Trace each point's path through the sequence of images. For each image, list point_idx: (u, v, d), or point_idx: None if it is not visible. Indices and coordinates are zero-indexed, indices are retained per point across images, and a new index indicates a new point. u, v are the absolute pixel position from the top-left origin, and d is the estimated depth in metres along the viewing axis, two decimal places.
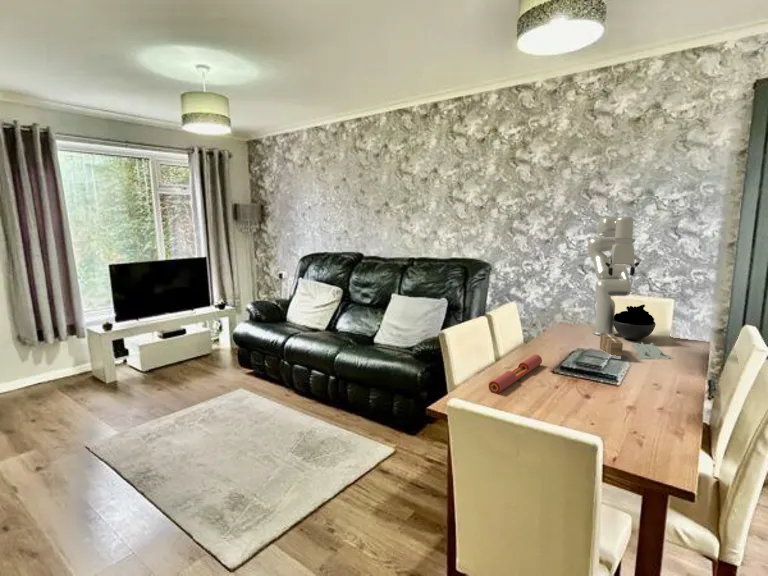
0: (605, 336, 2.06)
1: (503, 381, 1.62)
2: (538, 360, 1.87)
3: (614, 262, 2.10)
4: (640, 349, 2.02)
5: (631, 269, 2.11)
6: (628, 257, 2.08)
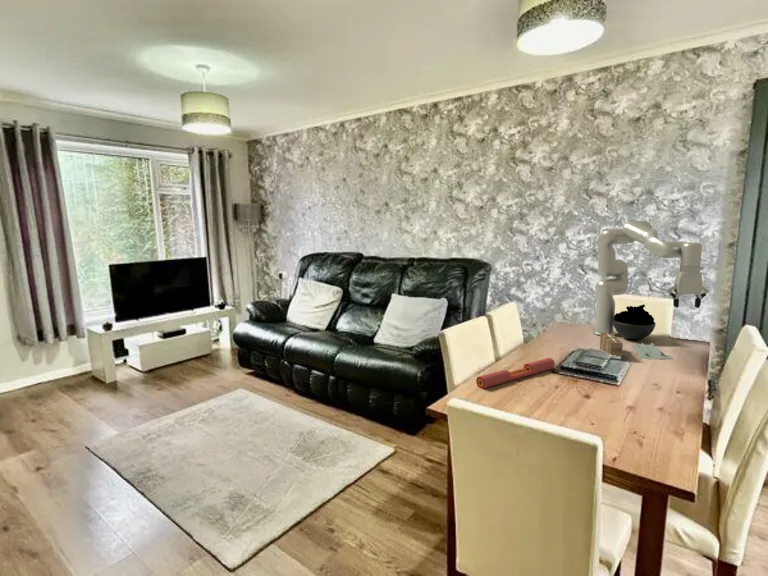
0: (605, 336, 2.06)
1: (491, 378, 1.66)
2: (548, 364, 1.83)
3: (679, 292, 1.92)
4: (640, 349, 2.01)
5: (696, 300, 1.93)
6: (695, 287, 1.90)
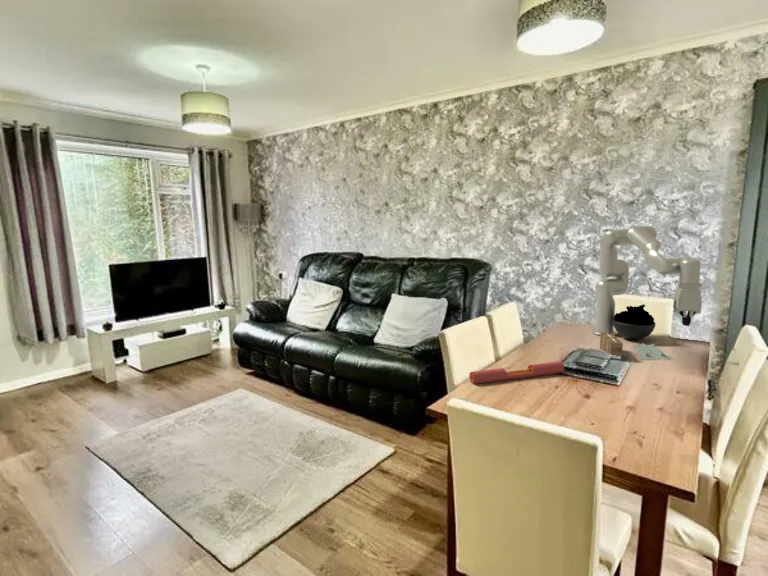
0: (605, 336, 2.06)
1: (483, 374, 1.70)
2: (555, 367, 1.78)
3: (679, 308, 1.93)
4: (641, 350, 2.00)
5: None
6: (695, 303, 1.91)
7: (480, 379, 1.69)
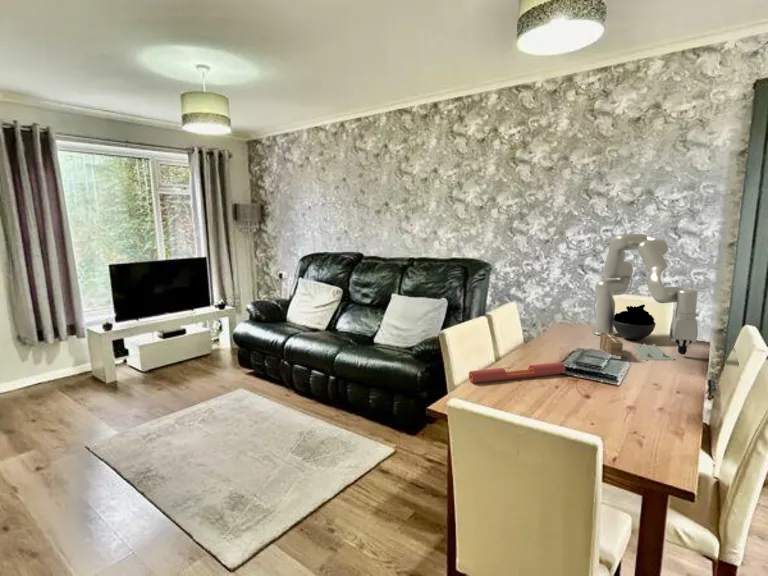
0: (605, 336, 2.06)
1: (482, 374, 1.71)
2: (556, 368, 1.77)
3: (675, 337, 1.95)
4: (642, 350, 1.99)
5: None
6: (691, 333, 1.93)
7: (479, 378, 1.70)
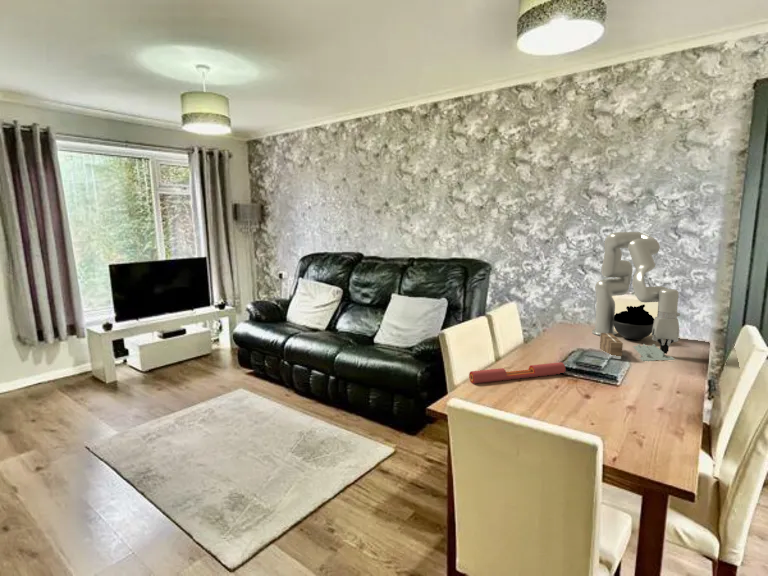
0: (605, 336, 2.06)
1: (482, 374, 1.70)
2: (557, 368, 1.77)
3: (657, 337, 1.97)
4: (642, 351, 1.99)
5: None
6: (672, 332, 1.95)
7: (479, 379, 1.70)
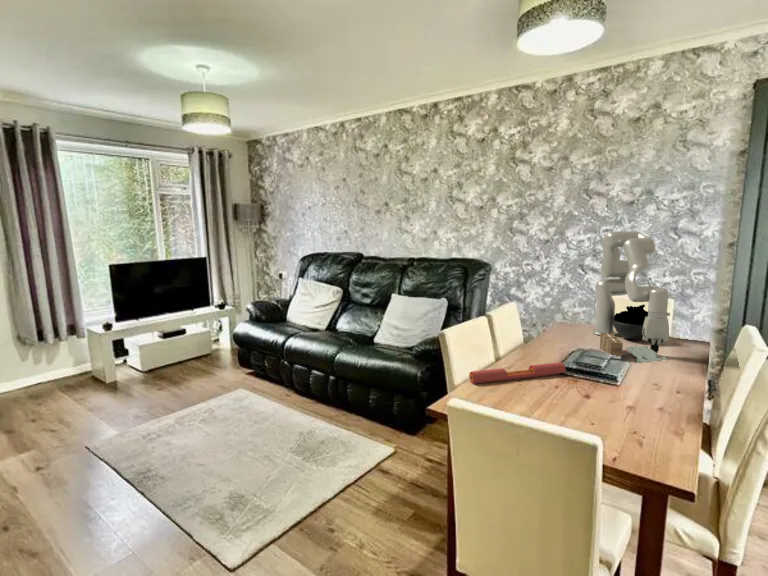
0: (605, 336, 2.06)
1: (482, 374, 1.70)
2: (557, 368, 1.77)
3: (647, 336, 1.98)
4: (636, 352, 1.97)
5: None
6: (662, 332, 1.96)
7: (480, 379, 1.69)
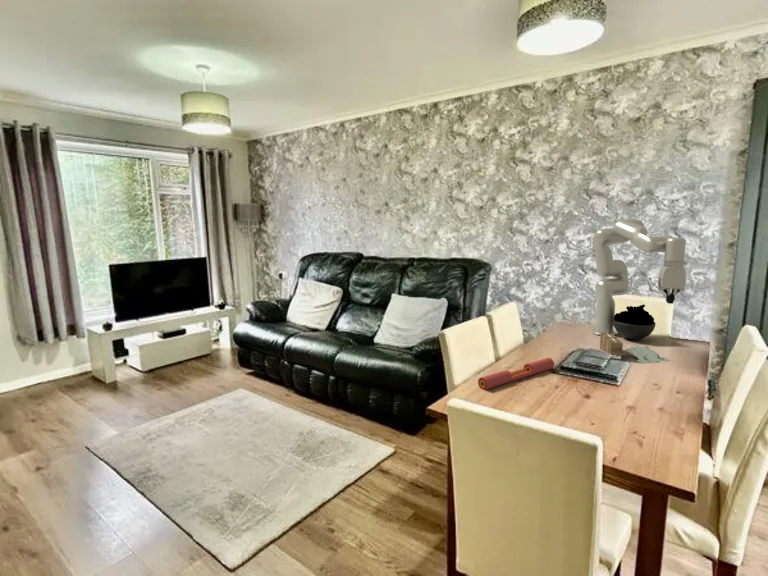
0: (605, 336, 2.06)
1: (493, 379, 1.65)
2: (548, 363, 1.83)
3: (663, 286, 1.94)
4: (637, 353, 1.96)
5: None
6: (679, 281, 1.92)
7: (491, 384, 1.64)
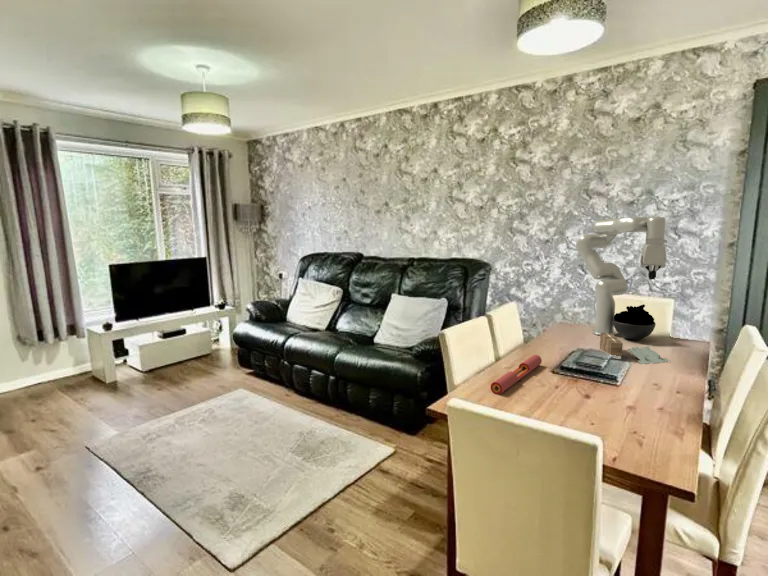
0: (605, 336, 2.06)
1: (505, 382, 1.61)
2: (538, 360, 1.87)
3: (645, 263, 2.07)
4: (638, 354, 1.95)
5: None
6: (660, 258, 2.05)
7: (505, 387, 1.60)
